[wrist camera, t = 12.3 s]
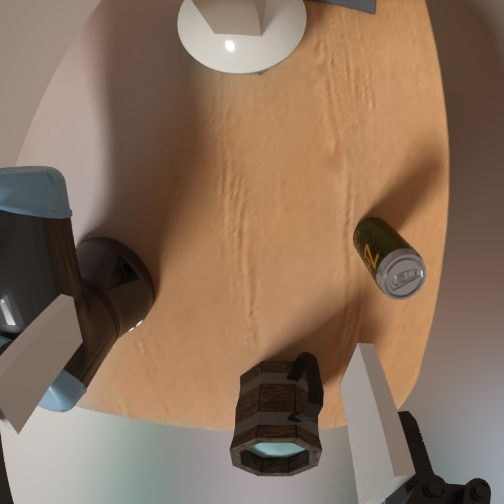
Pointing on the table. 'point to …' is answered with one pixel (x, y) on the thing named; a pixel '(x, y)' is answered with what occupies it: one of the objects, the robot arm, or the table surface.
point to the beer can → (389, 259)
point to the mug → (278, 418)
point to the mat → (354, 4)
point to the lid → (241, 32)
